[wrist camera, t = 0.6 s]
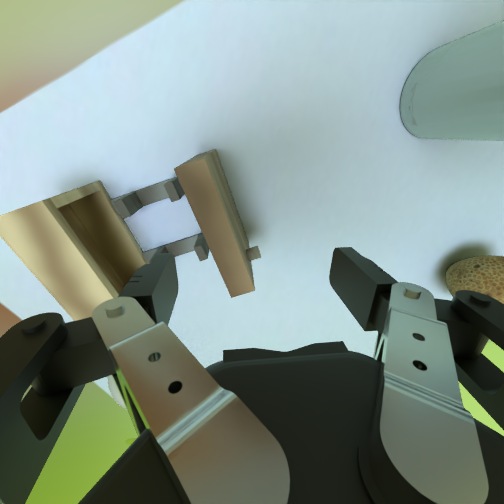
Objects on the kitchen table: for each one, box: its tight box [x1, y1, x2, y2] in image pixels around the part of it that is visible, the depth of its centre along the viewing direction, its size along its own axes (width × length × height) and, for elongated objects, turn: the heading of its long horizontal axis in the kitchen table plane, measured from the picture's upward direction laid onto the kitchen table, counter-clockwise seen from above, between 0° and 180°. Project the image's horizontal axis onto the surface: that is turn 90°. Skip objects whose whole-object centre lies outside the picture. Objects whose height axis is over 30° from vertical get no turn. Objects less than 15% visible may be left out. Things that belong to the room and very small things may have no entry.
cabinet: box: [0, 177, 209, 321], centre depth 28 cm, size 15×15×10 cm
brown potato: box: [445, 256, 504, 304], centre depth 35 cm, size 9×9×10 cm
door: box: [174, 149, 261, 298], centre depth 26 cm, size 4×13×12 cm, turn 18°
